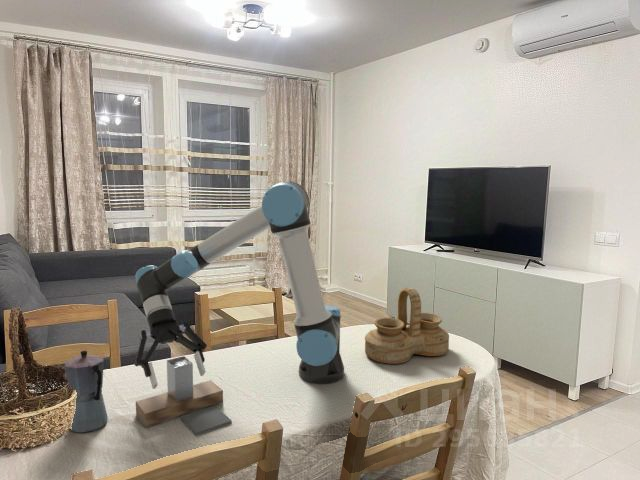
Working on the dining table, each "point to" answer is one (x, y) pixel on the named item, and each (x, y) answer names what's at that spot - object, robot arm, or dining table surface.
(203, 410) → the rubber pad
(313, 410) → the dining table surface
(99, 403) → the moka pot
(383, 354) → the ceramic vessel
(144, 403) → the body
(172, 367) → the grey rectangular block
